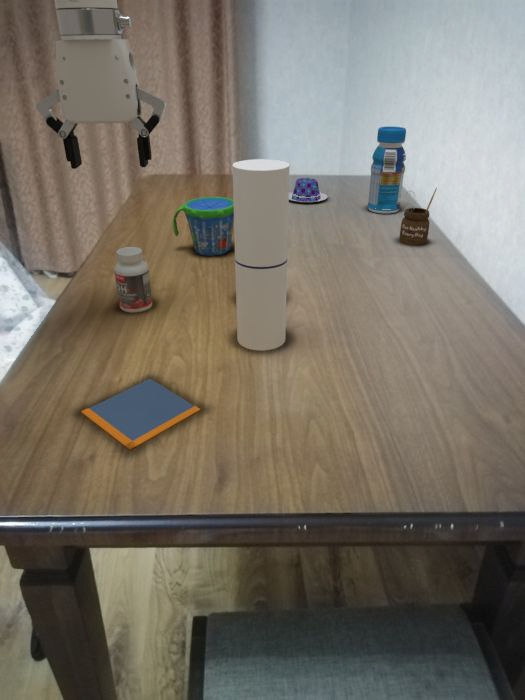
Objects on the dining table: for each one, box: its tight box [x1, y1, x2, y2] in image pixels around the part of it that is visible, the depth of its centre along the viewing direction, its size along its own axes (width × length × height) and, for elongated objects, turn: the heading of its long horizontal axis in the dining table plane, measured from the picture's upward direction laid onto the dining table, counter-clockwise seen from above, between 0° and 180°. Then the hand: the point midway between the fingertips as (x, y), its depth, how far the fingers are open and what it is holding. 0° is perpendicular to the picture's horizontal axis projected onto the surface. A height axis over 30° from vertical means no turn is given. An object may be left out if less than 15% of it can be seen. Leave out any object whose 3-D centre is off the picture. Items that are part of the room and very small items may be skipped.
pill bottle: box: [113, 246, 153, 313], centre depth 87 cm, size 5×5×10 cm
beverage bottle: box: [367, 126, 407, 215], centre depth 136 cm, size 8×8×20 cm
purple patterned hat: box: [289, 177, 328, 204], centre depth 149 cm, size 12×12×5 cm
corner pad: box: [81, 378, 202, 452], centre depth 64 cm, size 10×10×1 cm
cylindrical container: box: [232, 158, 290, 351], centre depth 74 cm, size 7×7×25 cm
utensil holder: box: [399, 186, 438, 247], centre depth 115 cm, size 6×6×12 cm
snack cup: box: [172, 196, 234, 257], centre depth 111 cm, size 16×10×10 cm
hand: (110, 166), depth 77 cm, fingers open, 9 cm apart
